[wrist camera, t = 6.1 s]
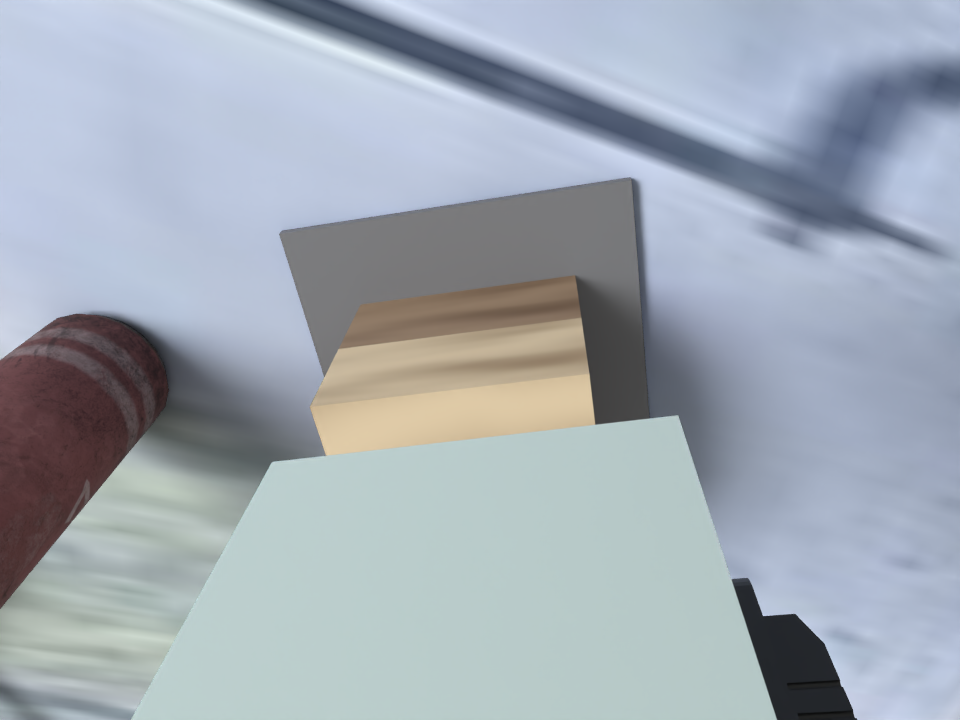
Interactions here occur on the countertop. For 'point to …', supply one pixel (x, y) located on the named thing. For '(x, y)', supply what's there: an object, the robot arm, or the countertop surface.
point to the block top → (455, 388)
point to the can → (67, 428)
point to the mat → (490, 271)
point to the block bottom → (464, 312)
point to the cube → (472, 589)
